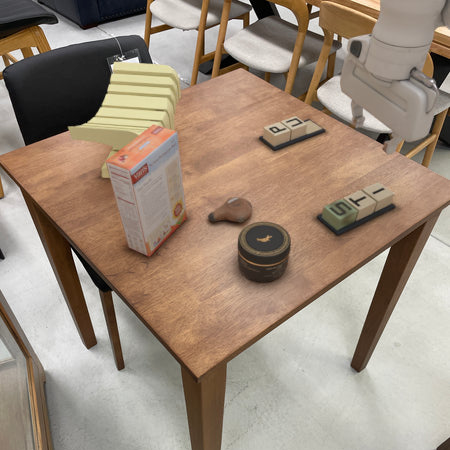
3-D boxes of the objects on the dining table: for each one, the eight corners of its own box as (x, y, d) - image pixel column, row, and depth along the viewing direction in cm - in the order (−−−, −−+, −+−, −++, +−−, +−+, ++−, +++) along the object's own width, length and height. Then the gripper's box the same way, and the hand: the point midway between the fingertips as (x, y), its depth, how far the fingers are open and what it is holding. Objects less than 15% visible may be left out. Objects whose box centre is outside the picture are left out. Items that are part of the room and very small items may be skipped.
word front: (372, 191, 101) (376, 178, 99) (395, 208, 98) (400, 194, 95) (316, 217, 96) (318, 204, 93) (337, 236, 92) (341, 222, 89)
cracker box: (165, 210, 98) (153, 121, 82) (187, 219, 96) (179, 130, 80) (125, 248, 90) (103, 158, 74) (149, 258, 88) (131, 169, 72)
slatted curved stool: (157, 205, 99) (145, 132, 85) (89, 199, 100) (67, 126, 87) (184, 134, 118) (178, 65, 104) (127, 130, 119) (114, 61, 105)
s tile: (338, 209, 97) (341, 198, 94) (354, 222, 94) (357, 210, 92) (321, 217, 95) (323, 206, 93) (336, 230, 92) (339, 219, 90)
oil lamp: (219, 204, 100) (206, 227, 95) (216, 190, 97) (203, 212, 92) (256, 209, 97) (245, 232, 93) (255, 194, 94) (243, 217, 90)
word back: (308, 120, 122) (310, 107, 119) (325, 132, 118) (327, 118, 115) (258, 138, 116) (259, 125, 113) (274, 151, 112) (275, 137, 109)
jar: (297, 267, 86) (302, 238, 81) (263, 293, 82) (265, 265, 76) (261, 241, 91) (263, 213, 85) (226, 265, 87) (226, 237, 81)
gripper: (459, 81, 63) (424, 165, 73) (373, 30, 74) (354, 109, 85) (424, 89, 61) (394, 173, 72) (342, 36, 73) (326, 115, 83)
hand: (371, 138), depth 78 cm, fingers open, 8 cm apart
